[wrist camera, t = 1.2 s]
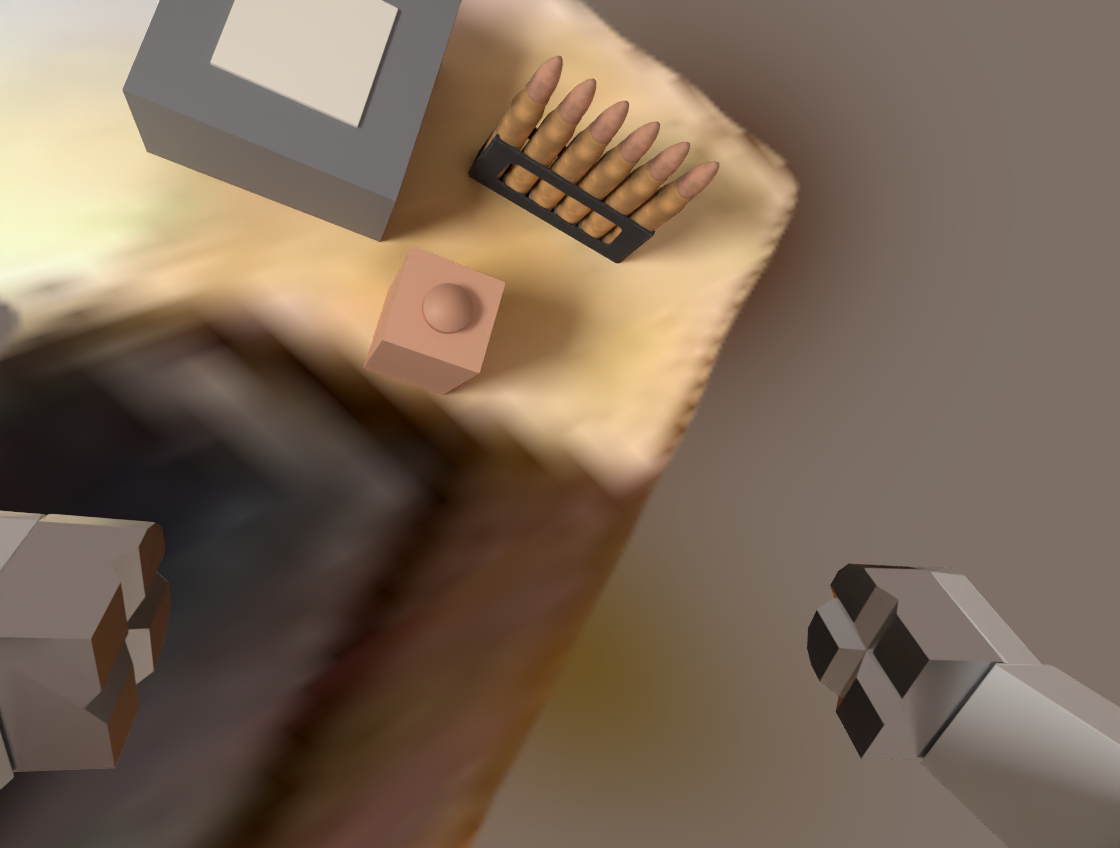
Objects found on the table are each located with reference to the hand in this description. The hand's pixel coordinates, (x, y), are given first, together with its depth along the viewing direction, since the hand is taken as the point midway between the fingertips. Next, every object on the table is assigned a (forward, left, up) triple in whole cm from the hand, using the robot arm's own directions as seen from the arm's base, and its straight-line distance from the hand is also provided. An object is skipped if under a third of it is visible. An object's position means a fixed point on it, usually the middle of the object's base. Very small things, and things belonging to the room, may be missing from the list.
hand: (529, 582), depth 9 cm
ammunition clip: (+1, +22, -32) cm, 39 cm away
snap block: (-1, +10, -32) cm, 33 cm away
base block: (-13, +18, -32) cm, 39 cm away
